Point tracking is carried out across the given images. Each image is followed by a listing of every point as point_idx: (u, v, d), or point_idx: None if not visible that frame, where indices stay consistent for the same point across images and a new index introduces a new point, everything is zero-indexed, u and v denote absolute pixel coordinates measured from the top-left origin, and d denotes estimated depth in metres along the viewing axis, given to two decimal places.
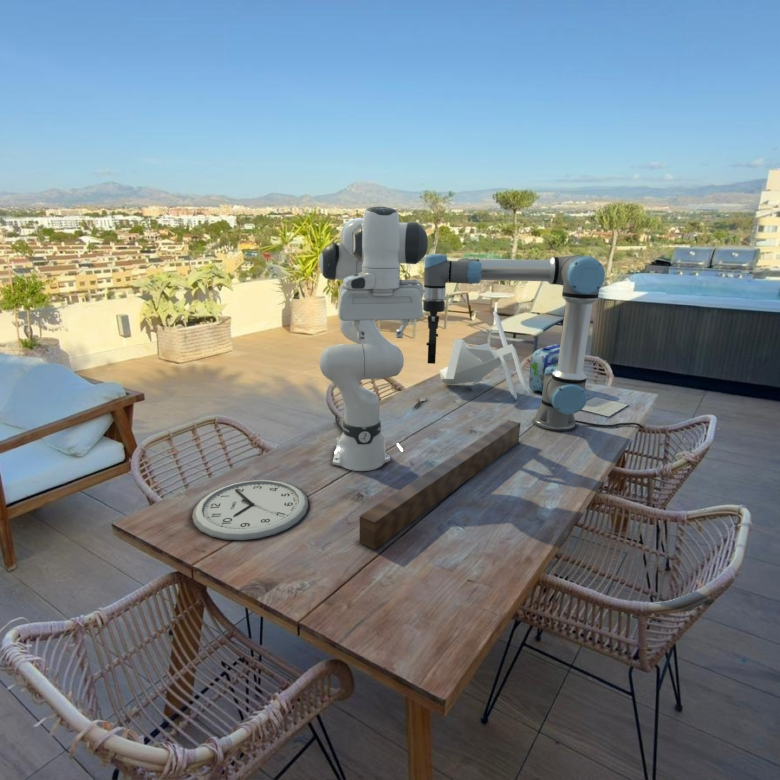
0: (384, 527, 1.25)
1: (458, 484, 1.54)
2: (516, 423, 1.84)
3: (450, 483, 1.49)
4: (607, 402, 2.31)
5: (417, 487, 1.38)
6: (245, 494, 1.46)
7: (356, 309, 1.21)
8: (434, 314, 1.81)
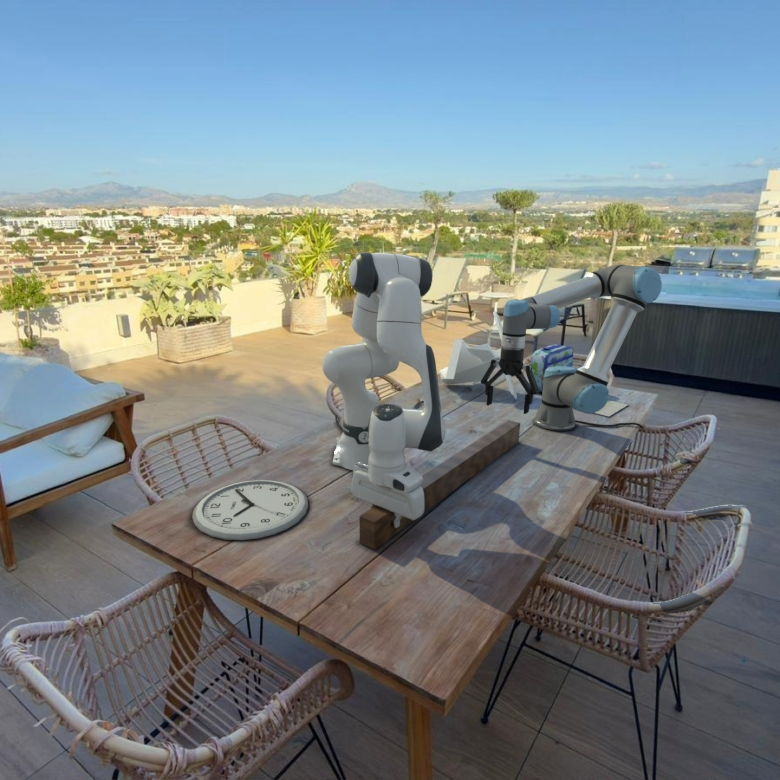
0: (384, 527, 1.25)
1: (458, 484, 1.54)
2: (516, 423, 1.84)
3: (450, 483, 1.49)
4: (607, 402, 2.31)
5: None
6: (245, 494, 1.46)
7: None
8: (522, 362, 1.72)
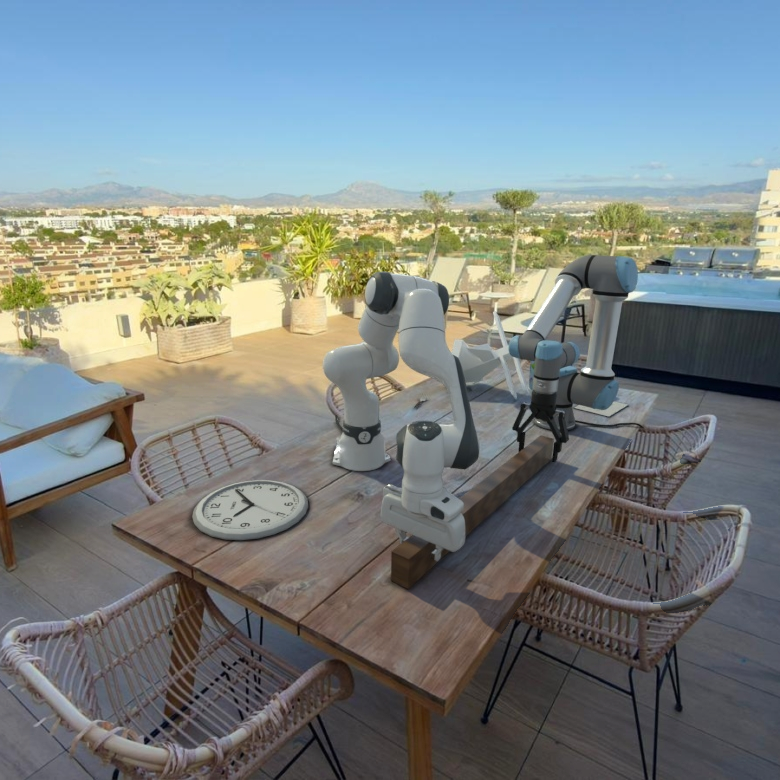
0: (419, 563, 1.12)
1: (493, 509, 1.41)
2: (549, 439, 1.71)
3: (485, 509, 1.36)
4: None
5: None
6: (245, 494, 1.46)
7: None
8: (555, 407, 1.62)
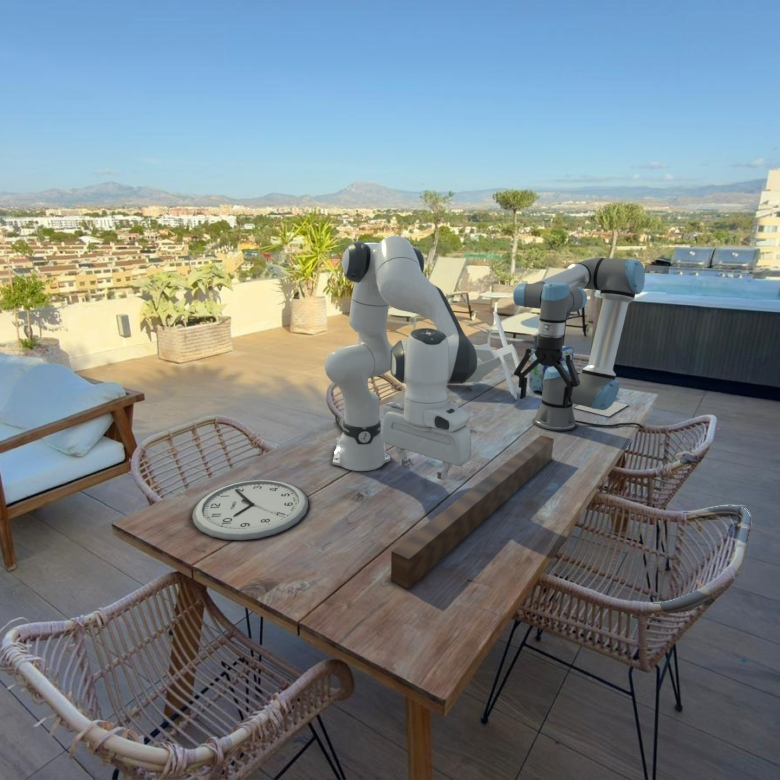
0: (419, 563, 1.12)
1: (493, 509, 1.41)
2: (549, 439, 1.71)
3: (485, 509, 1.36)
4: None
5: (451, 515, 1.25)
6: (245, 494, 1.46)
7: None
8: (561, 351, 1.56)
